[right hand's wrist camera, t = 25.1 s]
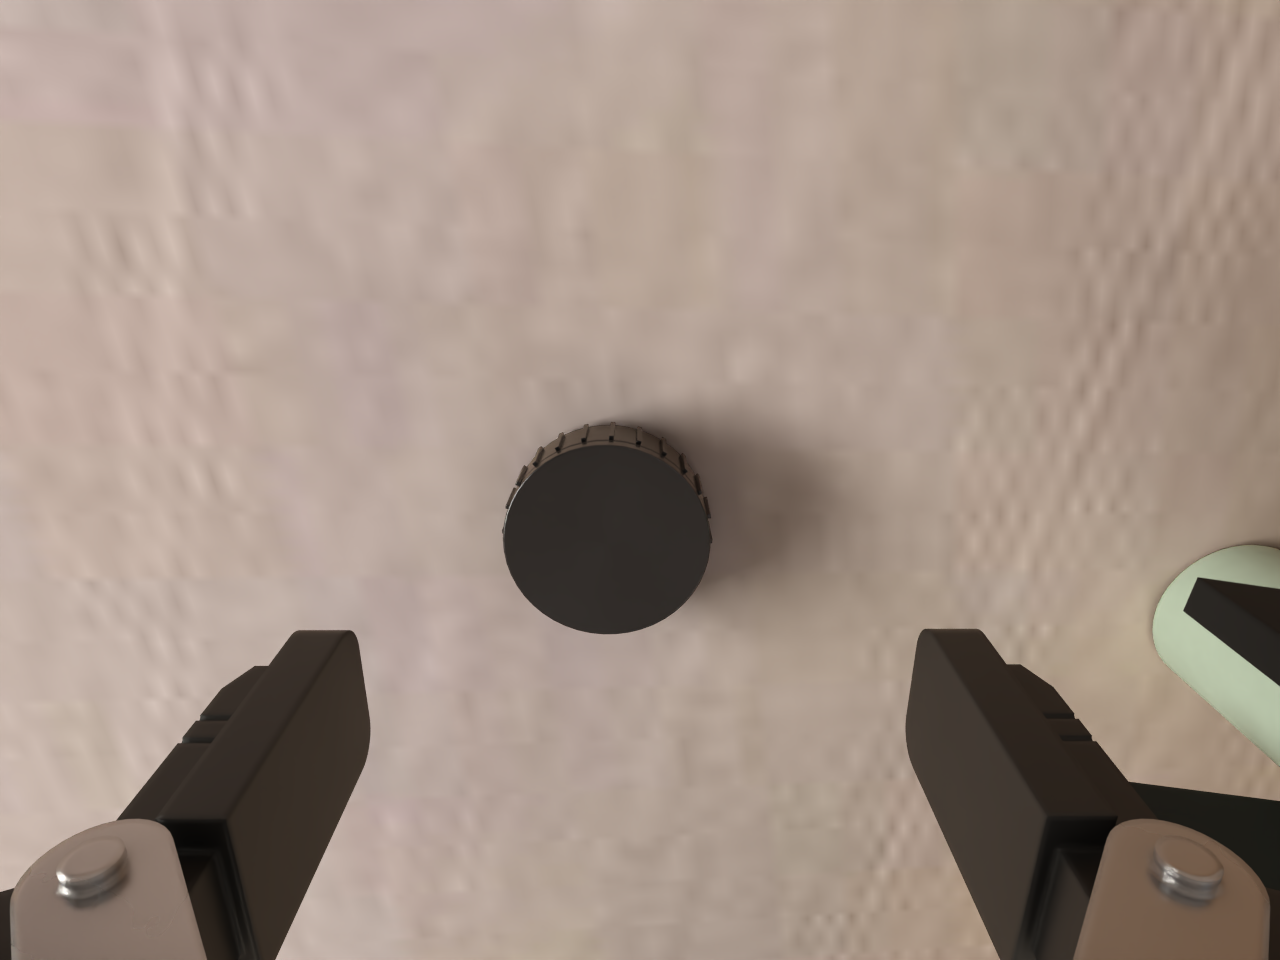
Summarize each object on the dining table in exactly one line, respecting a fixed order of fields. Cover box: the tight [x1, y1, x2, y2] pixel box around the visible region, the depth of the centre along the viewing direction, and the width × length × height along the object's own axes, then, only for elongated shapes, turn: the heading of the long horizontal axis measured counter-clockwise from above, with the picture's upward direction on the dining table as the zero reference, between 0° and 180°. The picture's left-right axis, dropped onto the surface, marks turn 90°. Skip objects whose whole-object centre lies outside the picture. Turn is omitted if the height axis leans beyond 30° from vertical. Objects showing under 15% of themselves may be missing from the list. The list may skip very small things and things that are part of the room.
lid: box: [502, 422, 712, 634], centre depth 20 cm, size 5×5×2 cm
